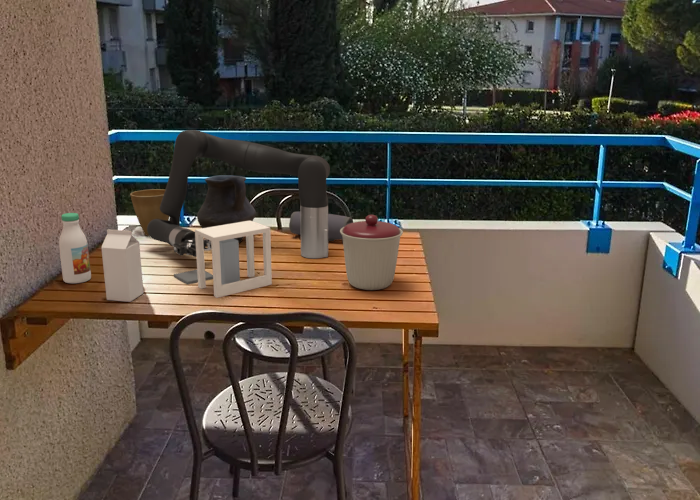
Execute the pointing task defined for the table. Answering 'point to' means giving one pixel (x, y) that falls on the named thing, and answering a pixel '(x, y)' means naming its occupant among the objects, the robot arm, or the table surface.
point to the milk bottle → (73, 251)
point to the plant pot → (148, 206)
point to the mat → (191, 276)
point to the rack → (240, 231)
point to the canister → (370, 252)
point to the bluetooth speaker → (333, 225)
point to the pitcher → (225, 202)
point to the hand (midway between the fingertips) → (209, 251)
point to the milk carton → (122, 266)
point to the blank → (229, 261)
